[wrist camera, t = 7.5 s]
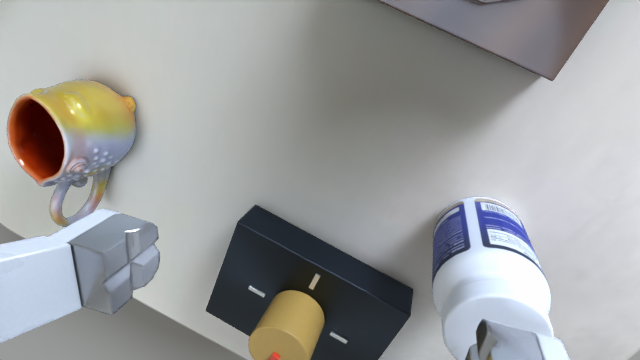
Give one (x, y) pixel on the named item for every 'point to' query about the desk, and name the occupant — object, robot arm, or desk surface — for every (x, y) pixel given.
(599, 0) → the block
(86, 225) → the robot arm
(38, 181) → the mug
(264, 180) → the desk surface
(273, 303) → the lock knob
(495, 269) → the pill bottle
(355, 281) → the plate
